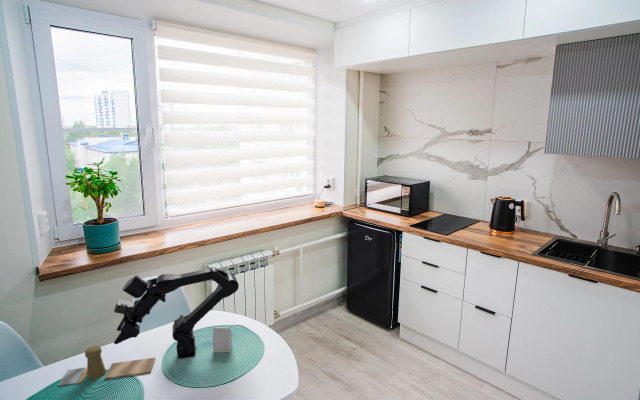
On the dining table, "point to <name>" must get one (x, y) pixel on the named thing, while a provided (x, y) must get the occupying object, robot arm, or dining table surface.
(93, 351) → the cork
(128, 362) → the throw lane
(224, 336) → the grey rectangular block
